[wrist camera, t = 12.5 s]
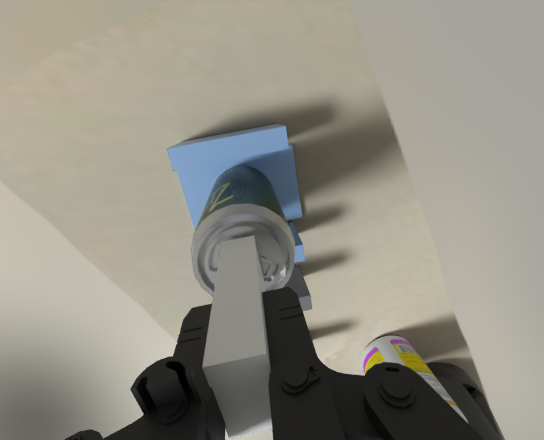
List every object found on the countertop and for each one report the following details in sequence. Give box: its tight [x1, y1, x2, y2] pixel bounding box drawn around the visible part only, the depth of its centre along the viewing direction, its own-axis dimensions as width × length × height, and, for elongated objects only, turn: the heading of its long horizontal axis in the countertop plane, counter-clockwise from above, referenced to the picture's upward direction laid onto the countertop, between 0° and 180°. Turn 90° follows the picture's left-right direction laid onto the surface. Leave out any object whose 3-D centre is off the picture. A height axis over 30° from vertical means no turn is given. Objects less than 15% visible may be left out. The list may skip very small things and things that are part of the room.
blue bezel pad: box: [177, 144, 302, 230], centre depth 24 cm, size 7×10×1 cm
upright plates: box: [167, 124, 317, 355], centre depth 25 cm, size 24×8×5 cm, turn 10°
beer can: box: [191, 166, 295, 297], centre depth 18 cm, size 5×5×12 cm
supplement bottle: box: [361, 336, 468, 423], centre depth 28 cm, size 7×7×13 cm
